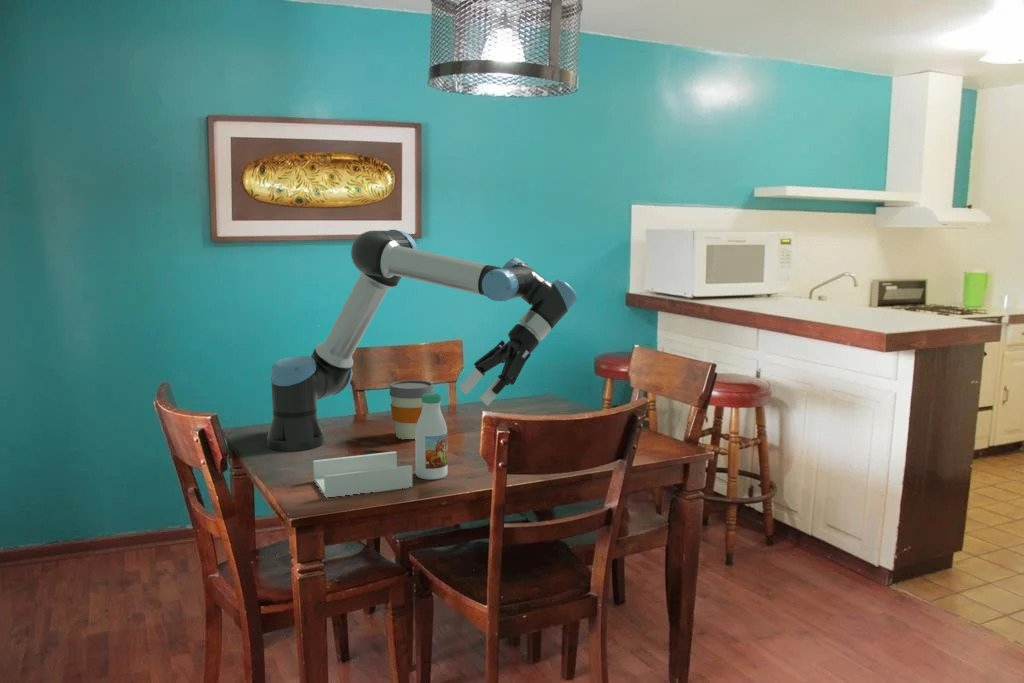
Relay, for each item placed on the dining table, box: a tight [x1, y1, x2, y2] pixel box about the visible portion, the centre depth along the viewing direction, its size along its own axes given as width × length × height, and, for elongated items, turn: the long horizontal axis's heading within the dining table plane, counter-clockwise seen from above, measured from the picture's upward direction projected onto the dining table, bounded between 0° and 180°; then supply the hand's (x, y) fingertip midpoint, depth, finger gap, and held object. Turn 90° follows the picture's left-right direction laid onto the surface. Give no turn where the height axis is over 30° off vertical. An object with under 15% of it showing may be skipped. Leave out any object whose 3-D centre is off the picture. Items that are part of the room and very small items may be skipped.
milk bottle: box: [414, 392, 449, 481], centre depth 198 cm, size 8×8×20 cm
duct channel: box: [312, 451, 413, 499], centre depth 192 cm, size 13×20×5 cm
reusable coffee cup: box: [389, 379, 435, 440], centre depth 234 cm, size 12×13×15 cm
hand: (472, 396), depth 201 cm, fingers open, 13 cm apart
